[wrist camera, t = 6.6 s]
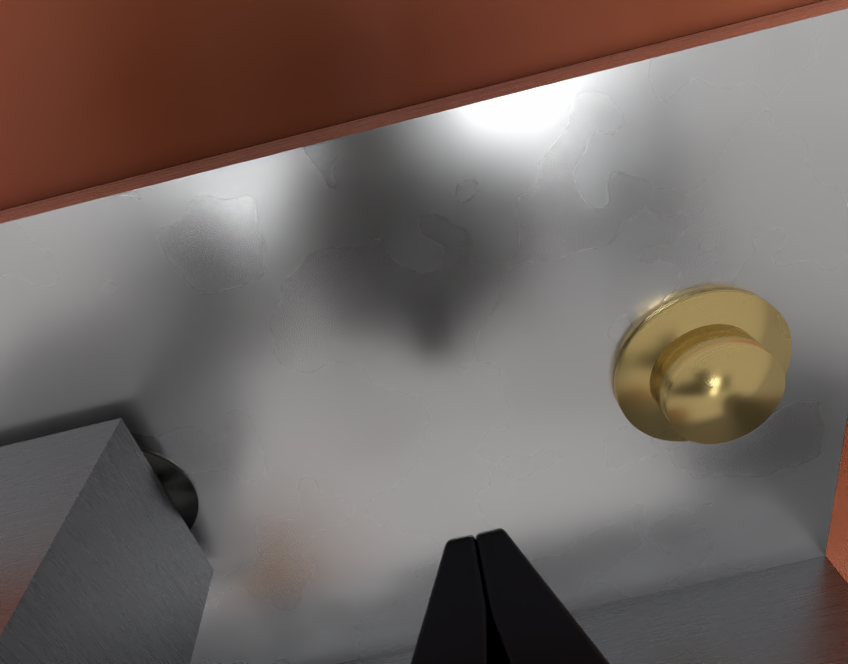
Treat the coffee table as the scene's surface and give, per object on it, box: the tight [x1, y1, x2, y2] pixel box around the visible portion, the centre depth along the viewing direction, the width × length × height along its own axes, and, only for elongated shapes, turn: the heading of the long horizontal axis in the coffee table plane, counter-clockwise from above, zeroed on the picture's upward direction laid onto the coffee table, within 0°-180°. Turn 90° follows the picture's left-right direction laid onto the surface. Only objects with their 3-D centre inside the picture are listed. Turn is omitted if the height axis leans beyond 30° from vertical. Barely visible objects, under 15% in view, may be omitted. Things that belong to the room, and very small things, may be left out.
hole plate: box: [0, 0, 848, 664], centre depth 11 cm, size 18×13×3 cm
